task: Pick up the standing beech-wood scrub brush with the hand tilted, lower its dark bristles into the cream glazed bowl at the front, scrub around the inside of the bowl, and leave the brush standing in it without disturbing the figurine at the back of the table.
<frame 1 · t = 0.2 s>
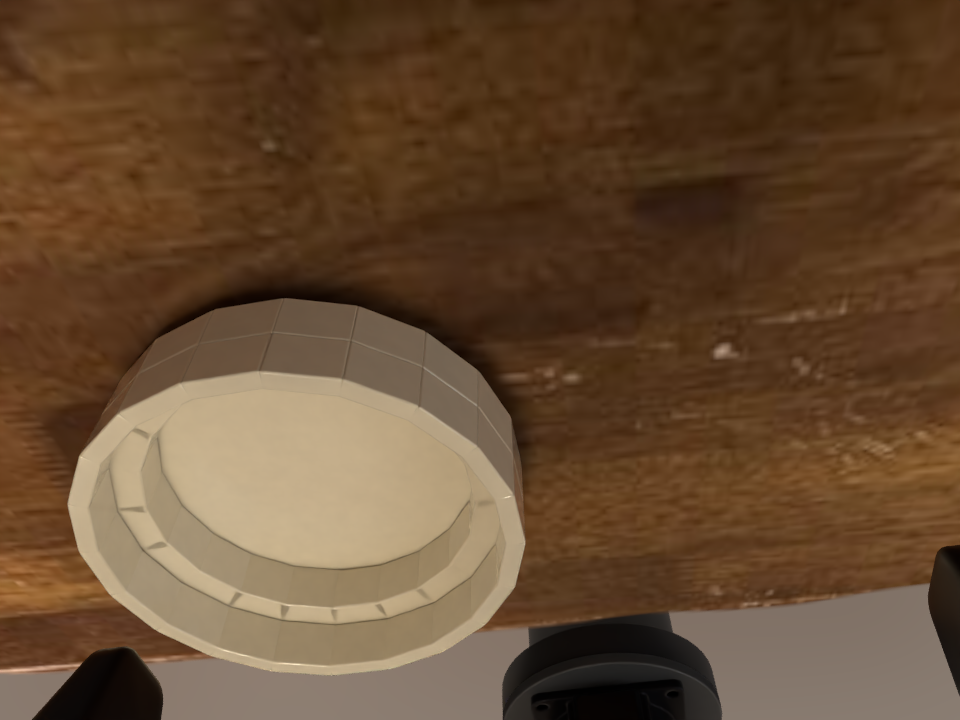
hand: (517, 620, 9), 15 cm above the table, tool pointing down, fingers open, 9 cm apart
bowl: (321, 455, 28), on the table
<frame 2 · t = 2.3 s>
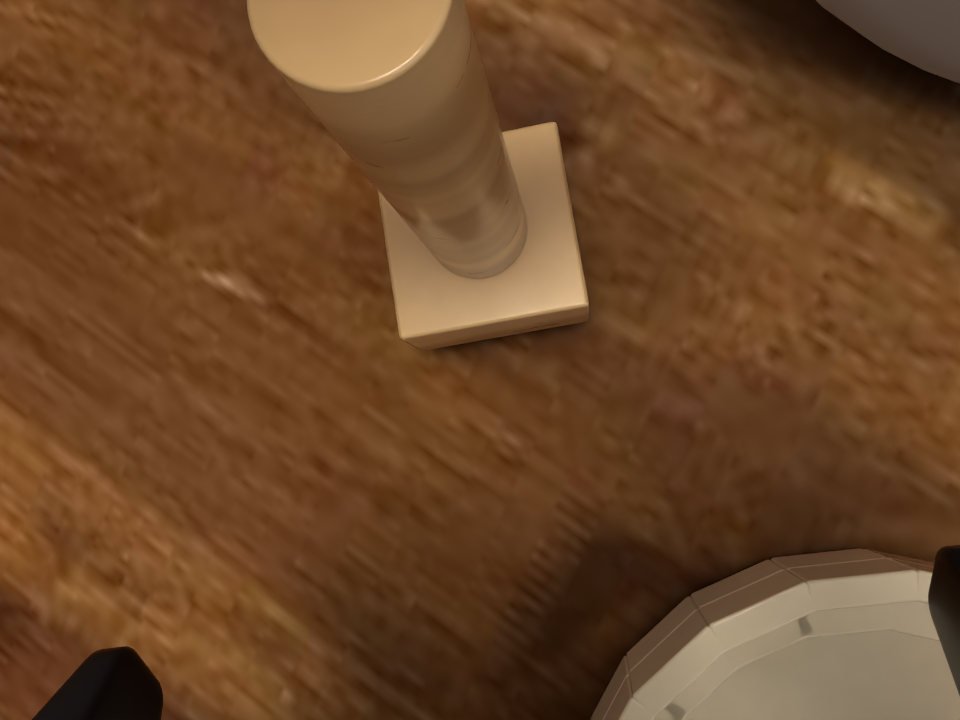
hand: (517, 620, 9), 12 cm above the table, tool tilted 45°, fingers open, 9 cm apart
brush: (496, 263, 22), on the table
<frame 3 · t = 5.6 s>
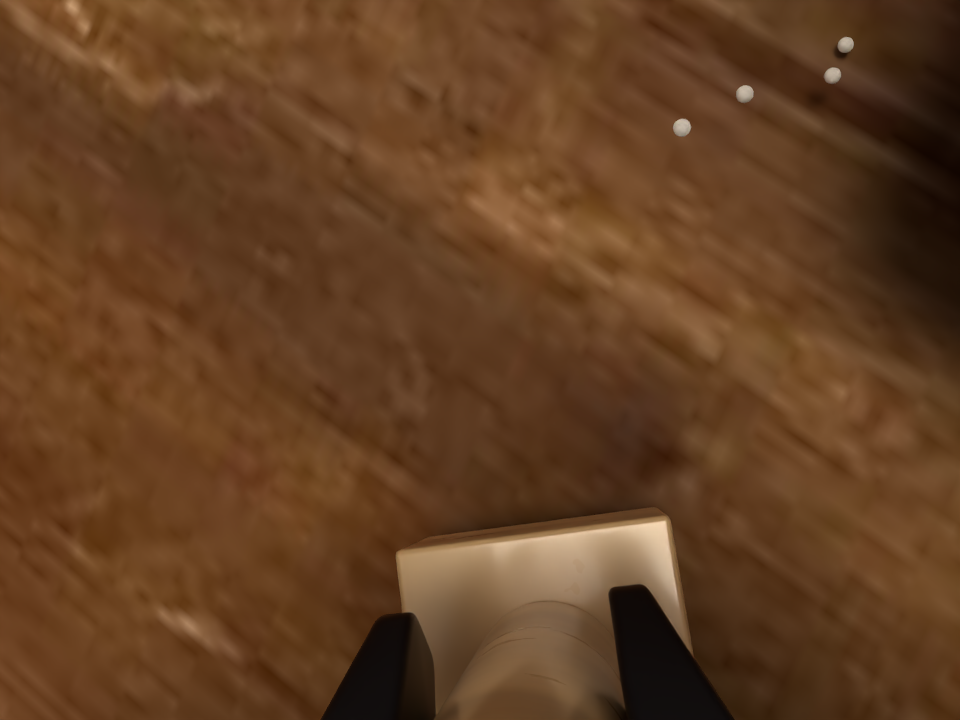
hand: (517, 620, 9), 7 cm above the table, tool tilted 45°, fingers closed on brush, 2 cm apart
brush: (560, 629, 16), on the table, touching gripper
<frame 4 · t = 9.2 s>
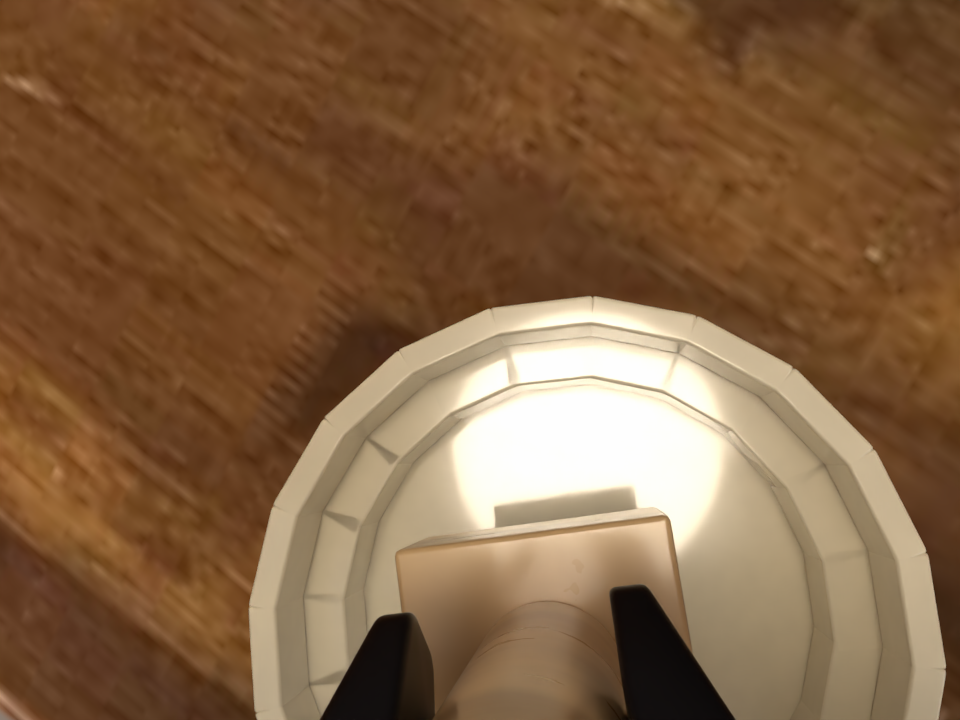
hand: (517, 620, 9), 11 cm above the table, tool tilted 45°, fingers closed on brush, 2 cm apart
bowl: (581, 601, 20), on the table
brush: (560, 629, 16), point 4 cm above the table, touching gripper
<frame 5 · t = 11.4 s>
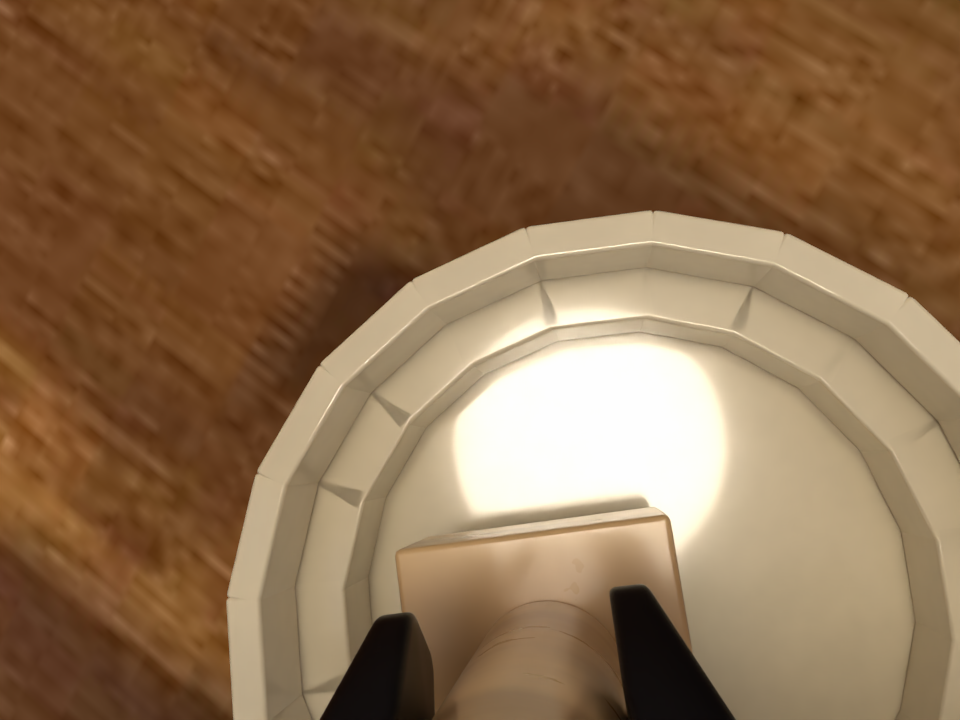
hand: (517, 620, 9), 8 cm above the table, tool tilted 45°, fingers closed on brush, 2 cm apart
bowl: (628, 592, 17), on the table
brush: (560, 629, 16), point 1 cm above the table, touching gripper
when the fingers open (7 cm above the table, at t = 13.1 s): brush stays where it is, resting on bowl.
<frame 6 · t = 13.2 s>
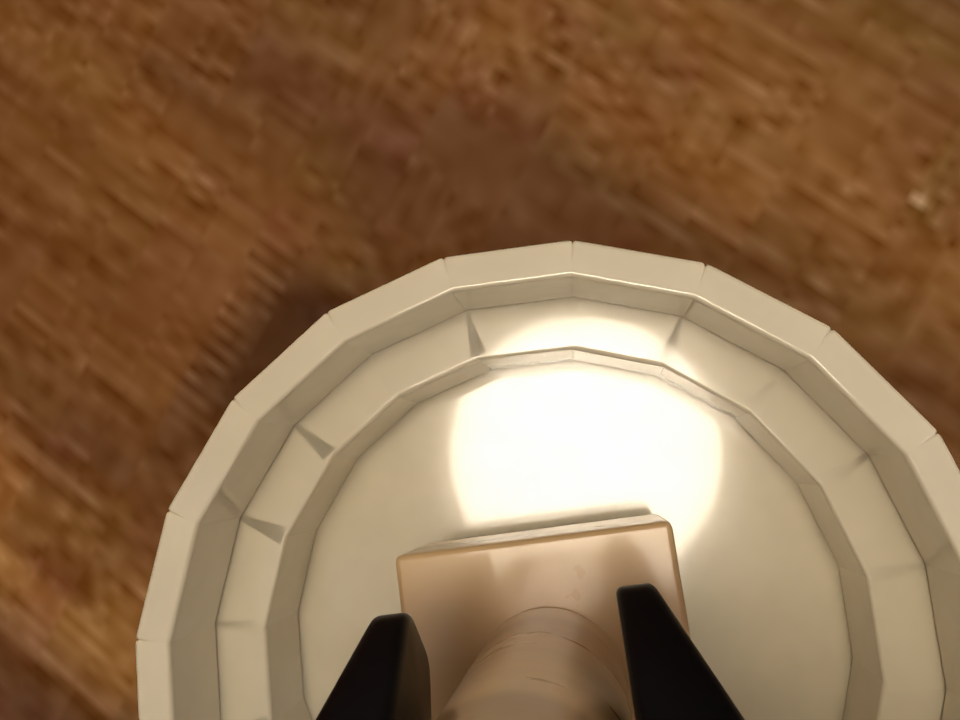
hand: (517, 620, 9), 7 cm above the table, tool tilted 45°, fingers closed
bowl: (563, 627, 16), on the table
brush: (560, 637, 16), point 1 cm above the table, touching bowl
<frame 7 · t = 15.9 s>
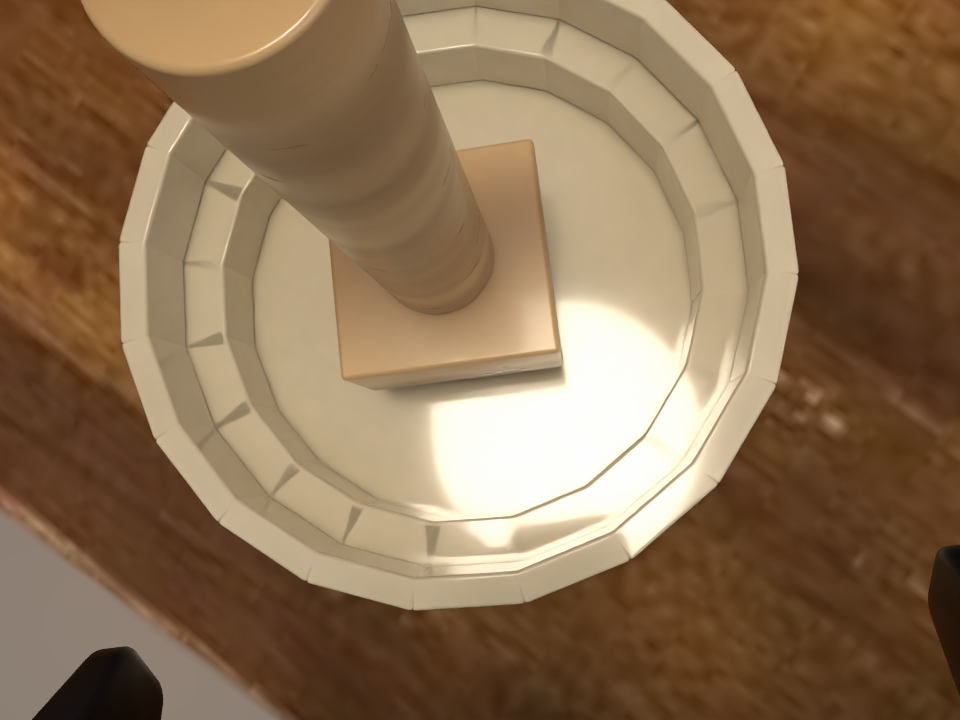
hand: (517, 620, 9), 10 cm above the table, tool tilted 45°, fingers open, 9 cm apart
bowl: (468, 297, 20), on the table
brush: (463, 295, 20), point 1 cm above the table, touching bowl
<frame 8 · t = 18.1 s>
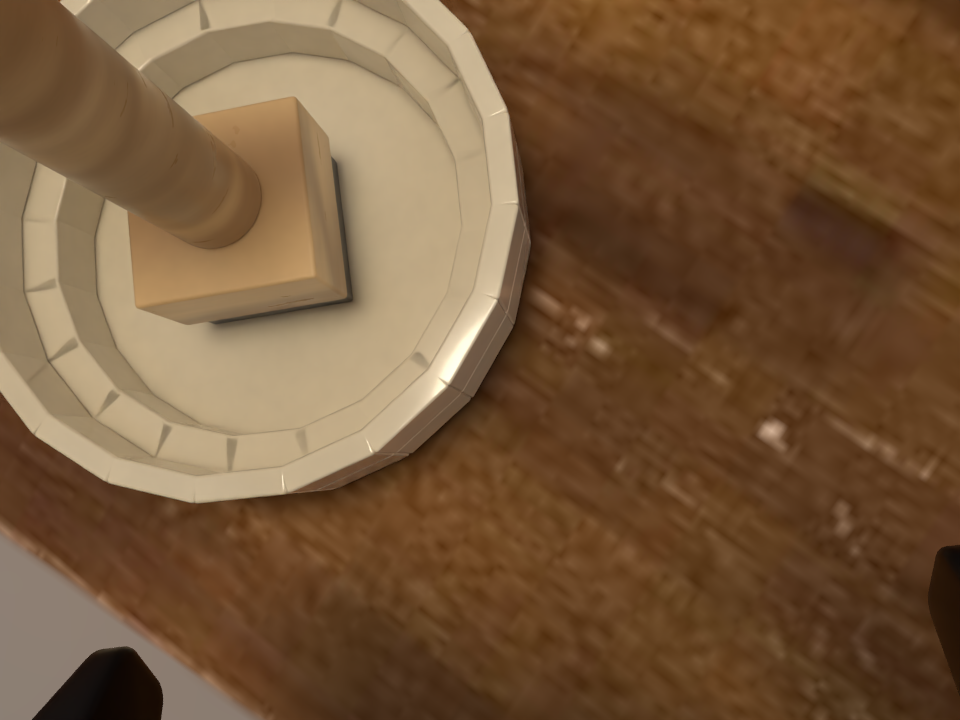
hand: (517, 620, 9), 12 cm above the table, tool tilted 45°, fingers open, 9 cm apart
bowl: (285, 246, 23), on the table
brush: (275, 243, 22), point 1 cm above the table, touching bowl
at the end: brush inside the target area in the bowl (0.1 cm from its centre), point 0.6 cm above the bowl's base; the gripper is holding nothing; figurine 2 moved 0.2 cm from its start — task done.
